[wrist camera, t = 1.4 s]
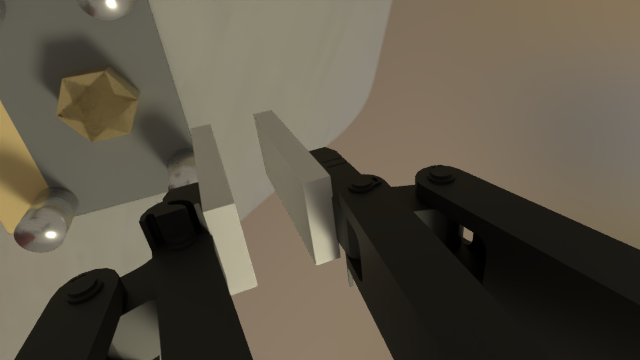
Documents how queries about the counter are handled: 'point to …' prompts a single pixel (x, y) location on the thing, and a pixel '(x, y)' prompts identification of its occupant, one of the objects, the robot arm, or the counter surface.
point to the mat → (60, 139)
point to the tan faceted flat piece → (98, 103)
